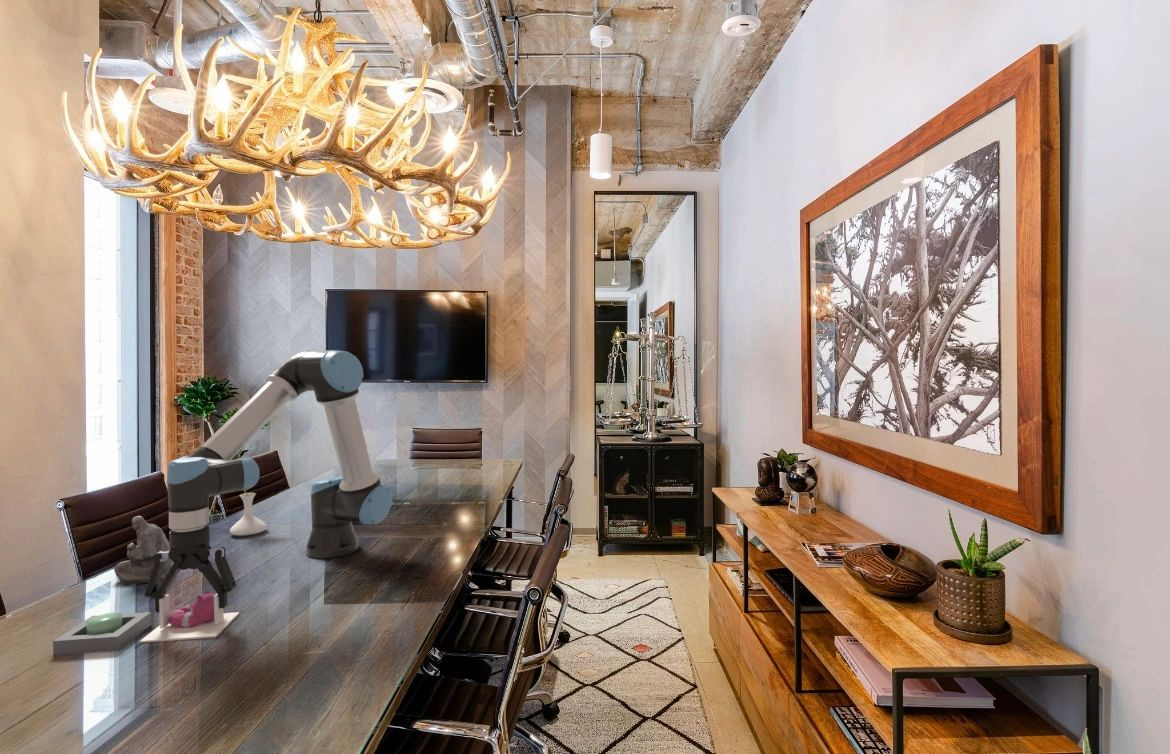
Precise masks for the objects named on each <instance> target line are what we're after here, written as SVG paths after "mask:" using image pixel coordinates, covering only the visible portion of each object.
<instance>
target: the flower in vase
mask: <svg viewBox="0 0 1170 754" xmlns="http://www.w3.org/2000/svg"><path fill="white" fill-rule="evenodd" d="M251 488H252V487H250V488H247V489H244V490H243V492H244V493H241V494H239V497H240V498H241V500H242V501H243V509H244V511H243V513H244V514H243V516H242V517H241V518H240V519H239V520H238V521H237V522H236V523H234V524H233V525H232V527H230V529H229V533H230V535H232V536H240V537H241V536H250V535H257V534H260V533H262V532H264V531H266V530H267V528H268V525H267V523H266V522H264V521H263V520H262V519H260V518H258V517H256V516H255V515H254V514H253V510H252V509H253V502H254V498H255V496H256V495H257V493H255V492H247V491H248V490H249V489H251Z"/></svg>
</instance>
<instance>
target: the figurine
mask: <svg viewBox="0 0 1170 754" xmlns="http://www.w3.org/2000/svg"><path fill="white" fill-rule="evenodd" d="M131 524H132V528H133V529H134V530H135V531H136V537H137V538H136V544H135V543H133V542H131V543H129V544H128V545H127V547H126V548H127V552H126V555H127V556H126V557H127V558H128V559H129V560H124V561H120V562H118V563H117V564H115V566H114V568H113V570H114V574H115V575H116V577H117V578H118V580H119V581H120V582H121V584H122V585H123V586H124V585H125V586H126V585H127V586H128V585H140V584H148V582H149V579H150V576H151V573H152V570H153V567H154V555H155V554H156V553H158V552H160V551H162V550H164V551H165V552H167V551H170V541H169V540H168V539H167V537H166V534H165V532H163V529H161V527H159V526H158V525H156V524H154V523H148V522H147V521H146V520H145V519H144V517H143V516H142V515H137V516H134V517H133V518H132V519H131ZM172 565H173V561H172V560H171V559H170V558H169V557H168V560H166V563H165V567H164V570H163V573H162V576H161V579H160V581H161V580H164V579H165V577H166V576H167V574H168V573H169V570H170V568H171V567H172Z"/></svg>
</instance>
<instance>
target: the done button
mask: <svg viewBox="0 0 1170 754" xmlns="http://www.w3.org/2000/svg"><path fill="white" fill-rule="evenodd" d="M122 614H123V613H121V612H108V613H107V612H106V613H103V614H99V615H95V616H96V617H93V618H91V619H89V620H88V621H87V622H86V630H87V635H90V634H105V633H114V632H115V631H117V630H118V629H119V628H121V627H122Z"/></svg>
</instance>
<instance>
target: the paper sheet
mask: <svg viewBox="0 0 1170 754" xmlns="http://www.w3.org/2000/svg"><path fill="white" fill-rule="evenodd" d="M239 615H240V612H239V611H237V612H225V613H224V619H223V620H222V621H221V622H220V623H219V624H217V625H215V620H211V621H207V622H204V621H203V622H201V623H199V624H197V625H196V626H193V627H177V626H172V625H171V624H170V623H169V624H168V625H167V626H166V627H165V628H160V624H159V625H158V626H157V627H156V628H155V629H152V631H150V632H149V633H148V634H147V635H146V636H144V637H143V638H142V639H140V640H139V643H140V644H142V643H145V644H146V643H155V642H156V643H157V642H170V641H171V642H172V641H184V640H186V641H187V640H199V639H201V640H202V639H212V638H213V639H214V638H217V637H218V636H219V635H220V634H221V633H222V632H223V630H225V628H227V627H228V626H229V625H230V624H231V623H232V622H233V621H234V620H235V619H236V618H237V617H238V616H239Z"/></svg>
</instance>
